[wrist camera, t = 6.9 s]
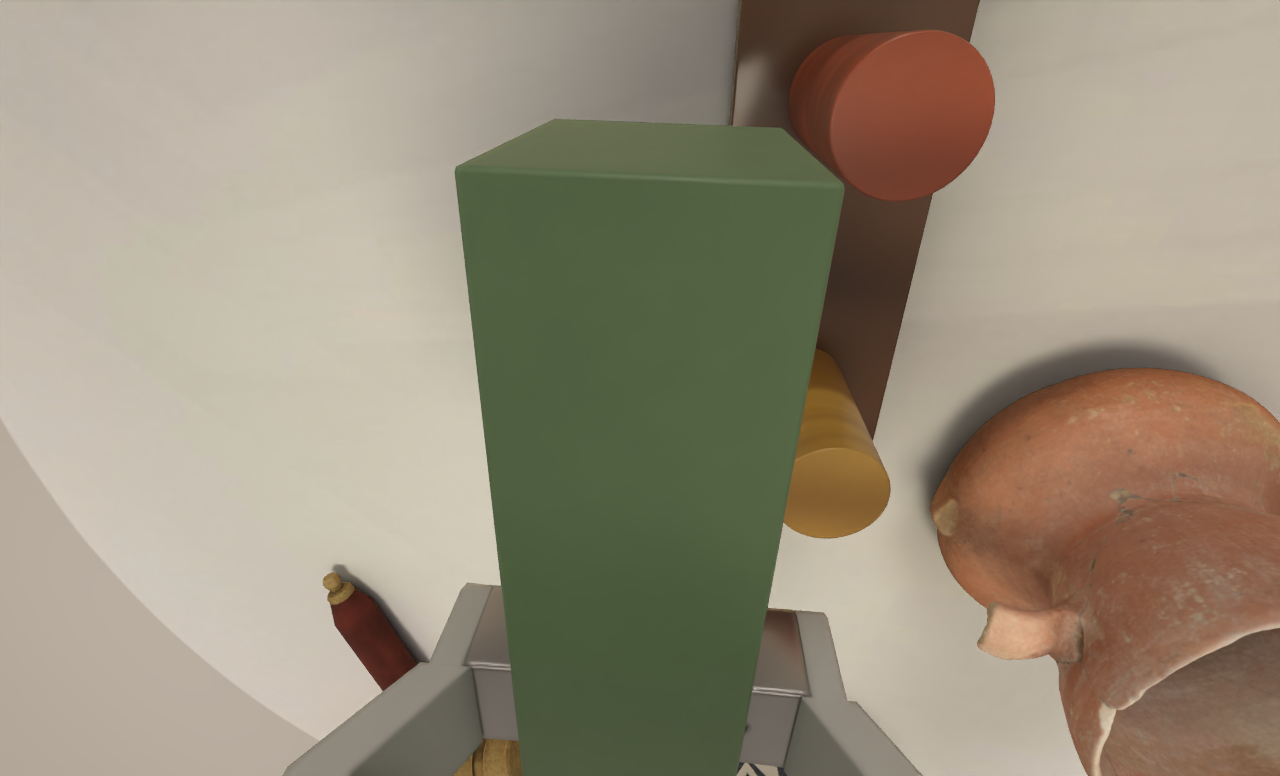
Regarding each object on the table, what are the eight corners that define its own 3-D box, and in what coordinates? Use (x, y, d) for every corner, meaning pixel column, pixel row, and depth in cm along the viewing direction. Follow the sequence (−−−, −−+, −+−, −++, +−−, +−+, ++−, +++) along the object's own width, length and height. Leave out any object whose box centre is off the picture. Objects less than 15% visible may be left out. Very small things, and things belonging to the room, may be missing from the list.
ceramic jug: (867, 561, 35) (961, 842, 23) (937, 329, 28) (1129, 554, 16) (1193, 588, 34) (1475, 896, 22) (1351, 356, 27) (1901, 617, 15)
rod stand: (744, -66, 22) (775, -135, 13) (979, -64, 21) (1162, -134, 13) (702, 450, 32) (705, 589, 24) (857, 459, 32) (914, 604, 24)
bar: (551, 118, 9) (452, 164, 5) (784, 126, 8) (847, 183, 5) (576, 774, 16) (543, 972, 13) (697, 786, 16) (697, 990, 13)
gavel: (238, 618, 37) (377, 586, 35) (285, 565, 41) (412, 534, 39) (406, 824, 45) (528, 810, 43) (431, 763, 49) (544, 747, 47)
